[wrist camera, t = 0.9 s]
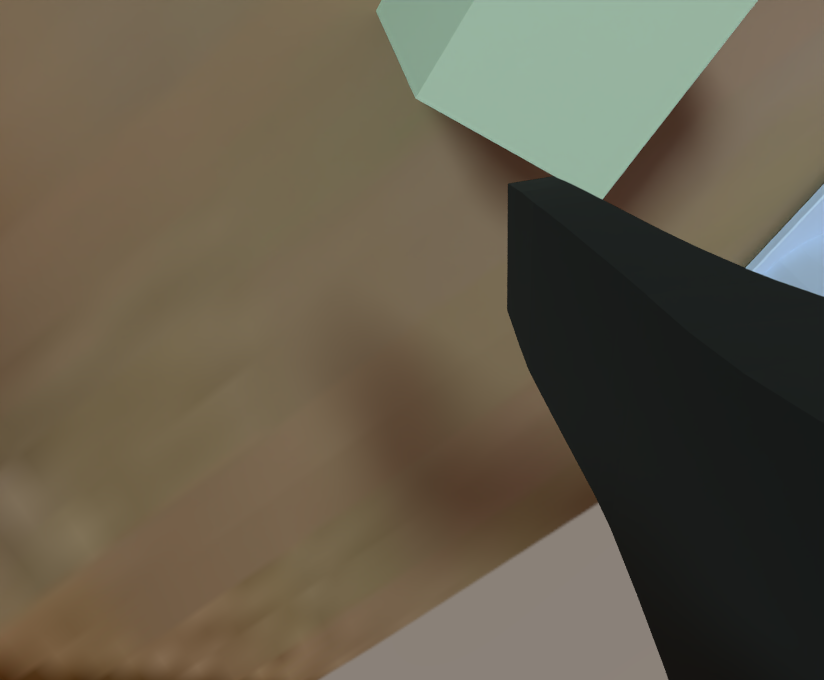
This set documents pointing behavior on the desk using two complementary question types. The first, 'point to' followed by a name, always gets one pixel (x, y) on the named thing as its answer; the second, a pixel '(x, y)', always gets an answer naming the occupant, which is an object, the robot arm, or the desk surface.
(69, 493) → the desk surface
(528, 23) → the block
